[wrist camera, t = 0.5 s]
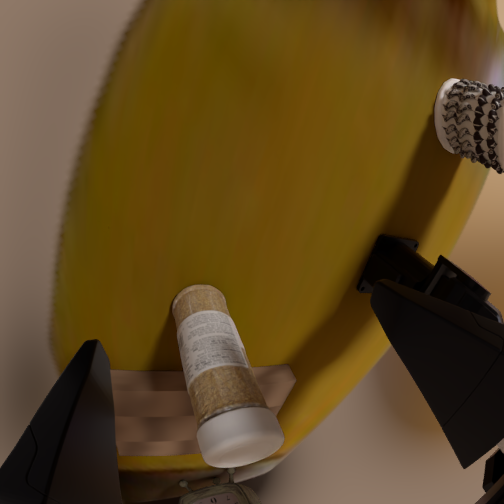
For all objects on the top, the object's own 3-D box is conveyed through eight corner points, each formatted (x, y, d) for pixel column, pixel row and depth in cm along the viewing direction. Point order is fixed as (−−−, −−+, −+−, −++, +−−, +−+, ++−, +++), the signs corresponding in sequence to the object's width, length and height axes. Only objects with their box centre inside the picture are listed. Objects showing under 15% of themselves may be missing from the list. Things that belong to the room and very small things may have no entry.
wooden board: (287, 364, 32) (296, 380, 30) (252, 432, 39) (257, 445, 37) (103, 369, 24) (102, 389, 22) (118, 440, 31) (119, 455, 29)
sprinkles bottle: (216, 326, 26) (267, 464, 15) (165, 321, 24) (196, 473, 13) (232, 285, 24) (301, 430, 13) (177, 277, 22) (217, 441, 11)
